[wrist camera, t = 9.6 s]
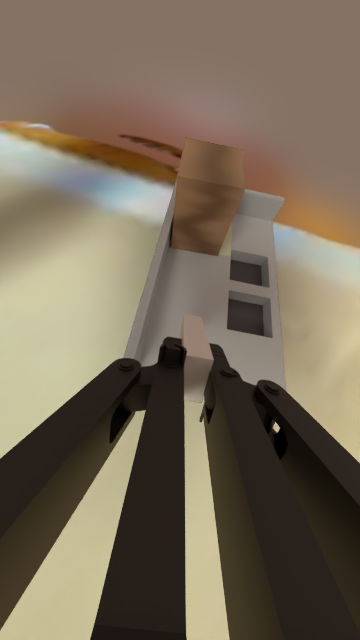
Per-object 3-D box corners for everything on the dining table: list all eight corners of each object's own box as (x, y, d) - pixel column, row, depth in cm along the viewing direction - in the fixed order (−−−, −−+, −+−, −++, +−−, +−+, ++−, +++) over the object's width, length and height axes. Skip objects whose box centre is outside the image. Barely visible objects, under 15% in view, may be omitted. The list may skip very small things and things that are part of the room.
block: (171, 248, 23) (177, 175, 16) (177, 212, 26) (185, 137, 18) (217, 256, 23) (245, 188, 16) (219, 220, 26) (242, 149, 19)
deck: (130, 375, 18) (120, 365, 13) (175, 209, 29) (178, 174, 24) (274, 401, 18) (312, 401, 14) (264, 229, 29) (284, 197, 25)
